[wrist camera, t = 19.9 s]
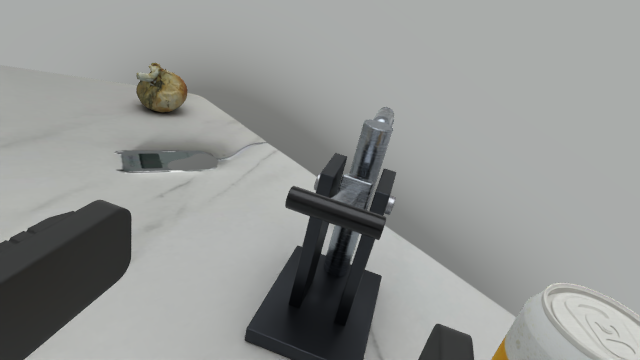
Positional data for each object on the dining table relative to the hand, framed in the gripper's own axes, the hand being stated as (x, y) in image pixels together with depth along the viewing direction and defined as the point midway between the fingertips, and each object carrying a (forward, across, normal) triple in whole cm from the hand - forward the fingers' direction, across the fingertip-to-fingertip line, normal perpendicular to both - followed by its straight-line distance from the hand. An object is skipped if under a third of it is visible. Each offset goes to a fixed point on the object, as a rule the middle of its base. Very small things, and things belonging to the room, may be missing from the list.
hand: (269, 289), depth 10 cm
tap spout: (+27, 0, -17) cm, 32 cm away
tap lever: (+15, 0, -6) cm, 16 cm away
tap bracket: (+20, 0, -18) cm, 27 cm away
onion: (+51, -38, -19) cm, 66 cm away
